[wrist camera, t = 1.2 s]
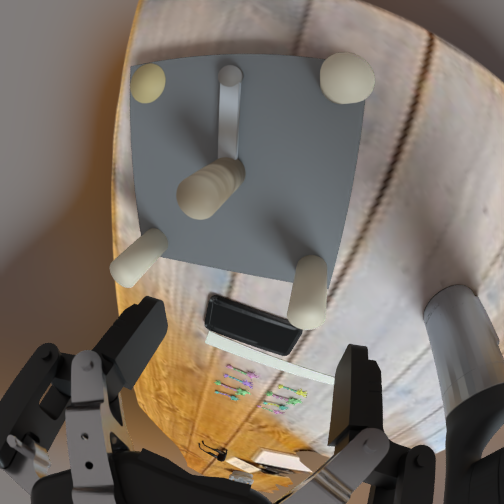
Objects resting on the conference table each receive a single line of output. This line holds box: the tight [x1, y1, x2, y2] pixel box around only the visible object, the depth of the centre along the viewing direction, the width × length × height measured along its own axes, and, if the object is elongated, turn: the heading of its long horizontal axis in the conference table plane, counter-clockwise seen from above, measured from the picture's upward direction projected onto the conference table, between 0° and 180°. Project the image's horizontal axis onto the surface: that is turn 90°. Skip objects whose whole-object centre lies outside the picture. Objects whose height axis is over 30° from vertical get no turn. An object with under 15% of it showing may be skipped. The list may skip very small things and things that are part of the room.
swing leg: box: [176, 65, 246, 220], centre depth 21 cm, size 13×4×8 cm, turn 177°
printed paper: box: [205, 331, 335, 414], centre depth 54 cm, size 30×30×2 cm
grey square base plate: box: [110, 52, 375, 330], centre depth 25 cm, size 25×25×11 cm
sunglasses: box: [199, 441, 227, 462], centre depth 86 cm, size 10×12×5 cm
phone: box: [205, 295, 303, 356], centre depth 42 cm, size 8×1×15 cm
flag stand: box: [229, 471, 254, 484], centre depth 96 cm, size 13×13×30 cm
